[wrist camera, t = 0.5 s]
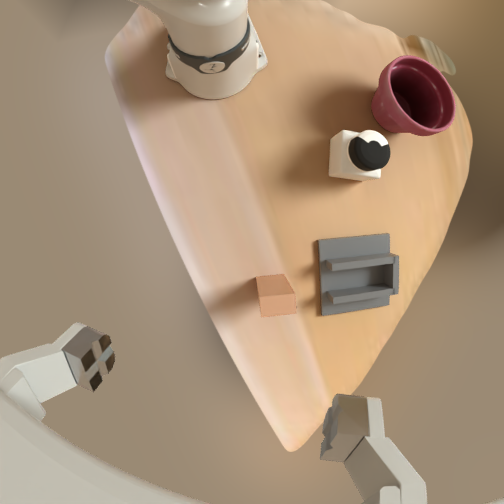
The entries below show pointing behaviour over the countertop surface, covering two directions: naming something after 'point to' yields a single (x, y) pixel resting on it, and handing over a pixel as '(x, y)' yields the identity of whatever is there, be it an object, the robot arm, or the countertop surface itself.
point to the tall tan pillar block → (275, 295)
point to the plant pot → (413, 98)
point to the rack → (356, 273)
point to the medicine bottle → (358, 155)
